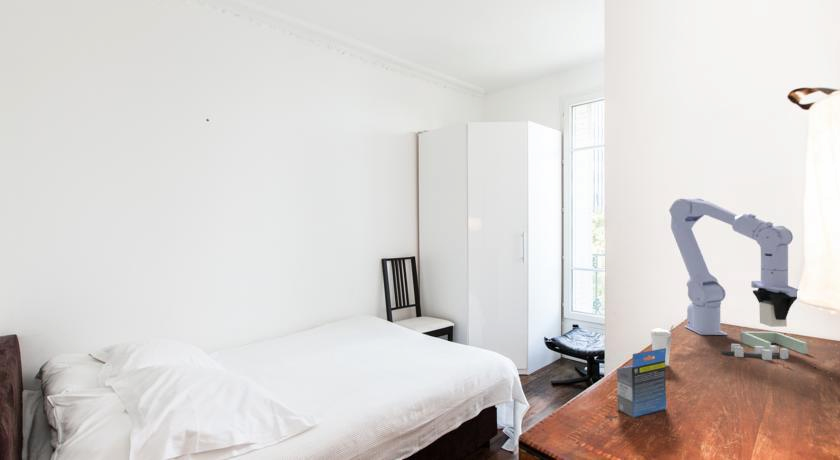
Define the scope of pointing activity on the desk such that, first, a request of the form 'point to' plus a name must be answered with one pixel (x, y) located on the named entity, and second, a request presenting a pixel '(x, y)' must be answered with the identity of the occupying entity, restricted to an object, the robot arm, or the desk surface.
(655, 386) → the label tape cartridge
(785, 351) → the clips
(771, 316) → the block
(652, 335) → the milkshake
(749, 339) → the holder
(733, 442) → the desk surface
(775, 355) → the cable
